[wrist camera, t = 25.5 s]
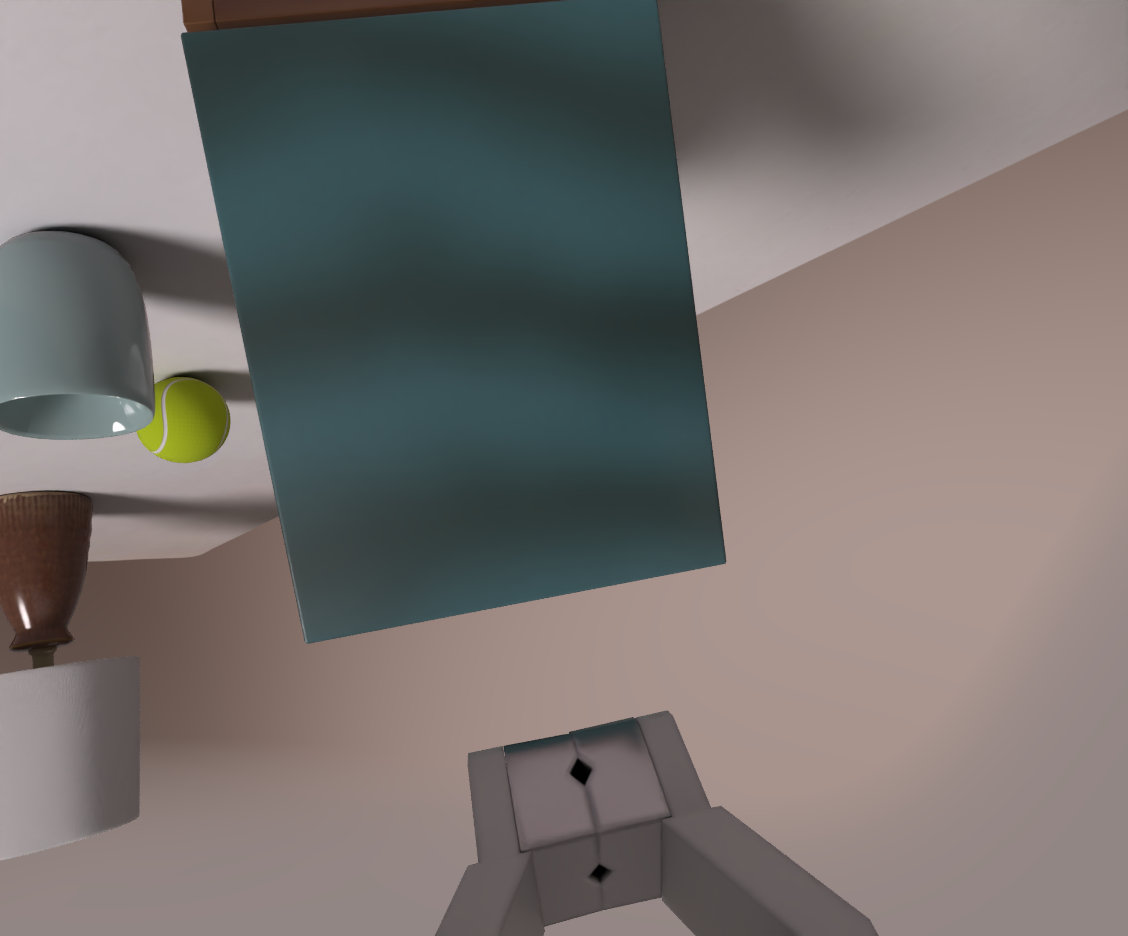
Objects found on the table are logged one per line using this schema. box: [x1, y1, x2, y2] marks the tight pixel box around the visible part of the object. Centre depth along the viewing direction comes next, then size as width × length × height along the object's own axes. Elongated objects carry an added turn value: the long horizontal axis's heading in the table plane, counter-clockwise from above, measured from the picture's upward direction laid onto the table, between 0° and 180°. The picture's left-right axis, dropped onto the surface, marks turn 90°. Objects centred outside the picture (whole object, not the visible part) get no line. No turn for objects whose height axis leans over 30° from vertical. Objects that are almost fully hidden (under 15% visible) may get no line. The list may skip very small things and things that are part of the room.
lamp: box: [0, 492, 140, 861], centre depth 83 cm, size 19×19×37 cm
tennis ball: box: [136, 377, 230, 463], centre depth 61 cm, size 7×7×7 cm
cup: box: [0, 231, 156, 440], centre depth 41 cm, size 8×8×10 cm
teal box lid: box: [181, 0, 726, 643], centre depth 21 cm, size 16×13×1 cm
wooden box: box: [181, 0, 561, 32], centre depth 29 cm, size 16×13×9 cm
